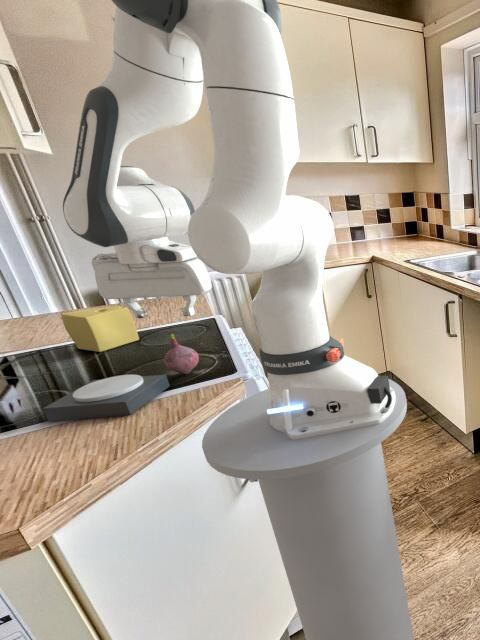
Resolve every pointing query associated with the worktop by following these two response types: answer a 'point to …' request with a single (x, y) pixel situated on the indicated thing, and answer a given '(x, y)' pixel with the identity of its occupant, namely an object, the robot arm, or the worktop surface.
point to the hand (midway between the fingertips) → (166, 316)
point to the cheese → (100, 327)
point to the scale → (107, 397)
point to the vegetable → (180, 357)
